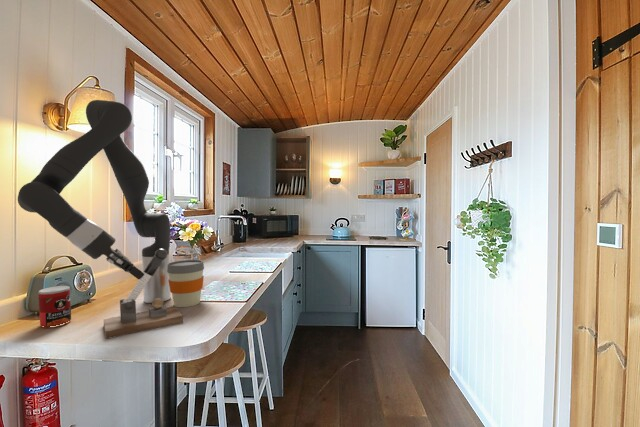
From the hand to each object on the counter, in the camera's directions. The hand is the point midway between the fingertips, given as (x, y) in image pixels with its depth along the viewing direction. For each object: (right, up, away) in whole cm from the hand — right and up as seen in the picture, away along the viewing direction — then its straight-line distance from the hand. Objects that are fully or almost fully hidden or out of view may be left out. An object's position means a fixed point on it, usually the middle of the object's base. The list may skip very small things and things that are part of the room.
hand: (141, 276), depth 100 cm
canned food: (-28, -15, +3) cm, 32 cm away
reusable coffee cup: (+5, -14, +21) cm, 26 cm away
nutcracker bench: (0, -15, +1) cm, 15 cm away
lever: (-4, -9, -2) cm, 10 cm away
